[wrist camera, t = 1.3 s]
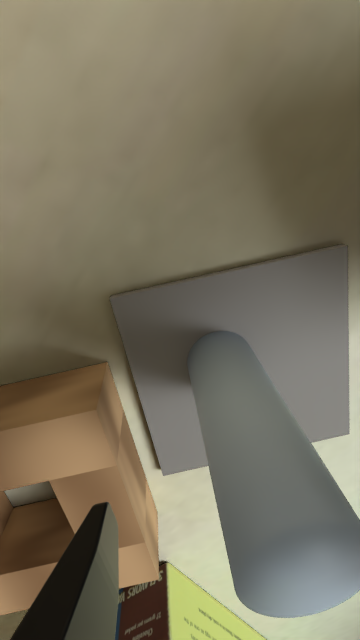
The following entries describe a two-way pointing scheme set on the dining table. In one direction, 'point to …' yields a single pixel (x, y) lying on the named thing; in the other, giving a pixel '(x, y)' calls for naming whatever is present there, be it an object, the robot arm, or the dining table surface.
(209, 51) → the dining table surface
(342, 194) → the dining table surface
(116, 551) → the robot arm
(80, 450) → the hole block
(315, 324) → the mat
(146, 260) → the dining table surface
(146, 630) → the protein box
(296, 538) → the peg
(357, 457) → the dining table surface
